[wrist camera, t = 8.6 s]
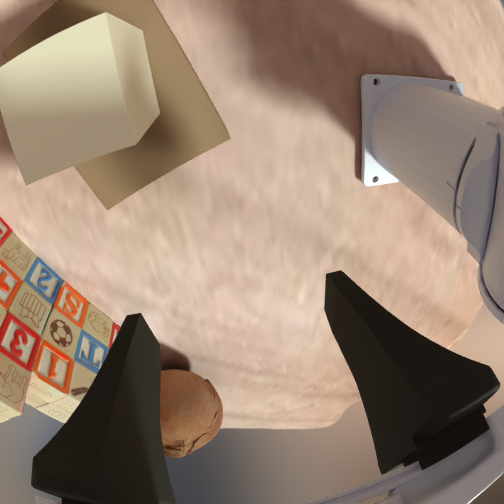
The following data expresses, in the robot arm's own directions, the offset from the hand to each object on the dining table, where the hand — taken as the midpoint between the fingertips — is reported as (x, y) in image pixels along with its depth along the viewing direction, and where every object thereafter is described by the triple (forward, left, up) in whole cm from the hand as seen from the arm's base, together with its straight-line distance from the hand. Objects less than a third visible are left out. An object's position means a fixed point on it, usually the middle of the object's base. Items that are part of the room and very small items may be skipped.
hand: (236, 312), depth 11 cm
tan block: (+4, -9, -10) cm, 14 cm away
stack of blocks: (+17, +3, -10) cm, 20 cm away
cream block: (+4, -9, -7) cm, 12 cm away
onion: (+9, +19, -10) cm, 23 cm away
